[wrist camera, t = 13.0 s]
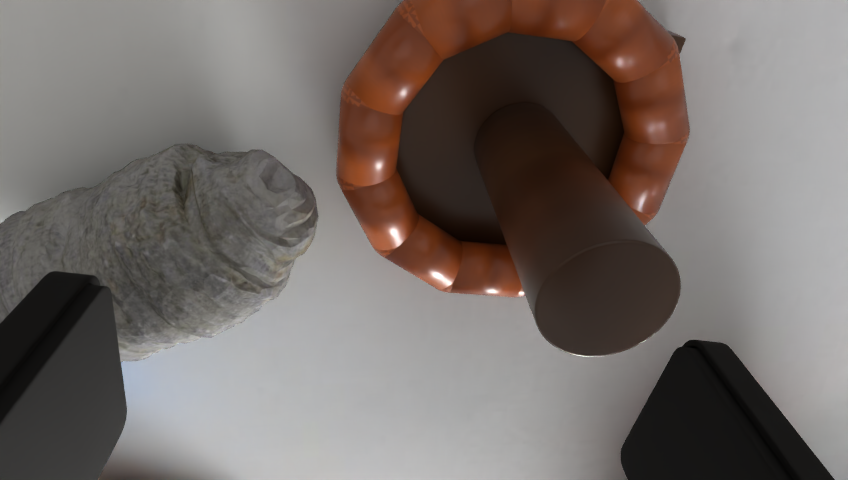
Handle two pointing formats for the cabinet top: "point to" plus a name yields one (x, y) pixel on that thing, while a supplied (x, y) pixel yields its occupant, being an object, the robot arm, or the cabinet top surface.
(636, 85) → the ring
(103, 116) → the cabinet top surface
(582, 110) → the ring stand
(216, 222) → the seashell
